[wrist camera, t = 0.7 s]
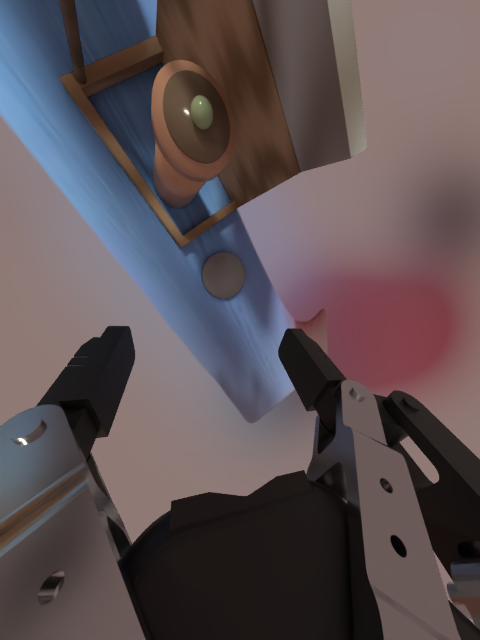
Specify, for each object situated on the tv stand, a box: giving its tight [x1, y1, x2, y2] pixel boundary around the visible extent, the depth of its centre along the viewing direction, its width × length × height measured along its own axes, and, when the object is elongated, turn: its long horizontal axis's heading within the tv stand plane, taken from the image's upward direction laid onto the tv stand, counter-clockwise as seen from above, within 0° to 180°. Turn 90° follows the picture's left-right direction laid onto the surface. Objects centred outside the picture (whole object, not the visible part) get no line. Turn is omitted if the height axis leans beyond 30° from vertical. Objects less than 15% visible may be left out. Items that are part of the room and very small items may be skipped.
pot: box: [151, 60, 236, 208], centre depth 16 cm, size 6×6×14 cm
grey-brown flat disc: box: [202, 252, 245, 298], centre depth 28 cm, size 7×7×1 cm
